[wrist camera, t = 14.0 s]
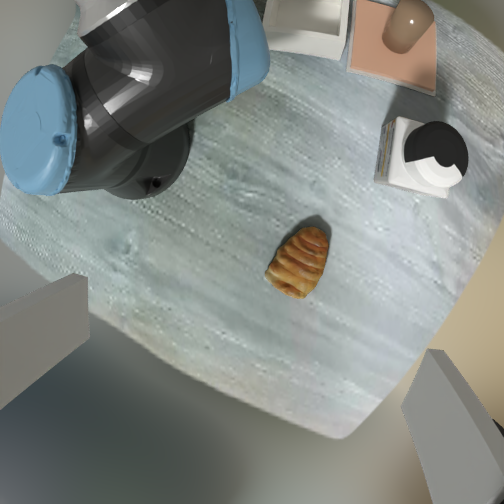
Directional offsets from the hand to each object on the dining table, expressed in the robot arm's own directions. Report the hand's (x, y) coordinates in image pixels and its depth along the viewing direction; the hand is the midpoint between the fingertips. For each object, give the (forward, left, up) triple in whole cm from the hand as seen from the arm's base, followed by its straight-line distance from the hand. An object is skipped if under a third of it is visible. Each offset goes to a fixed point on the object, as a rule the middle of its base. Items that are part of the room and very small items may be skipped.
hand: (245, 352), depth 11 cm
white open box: (-2, +29, -32) cm, 43 cm away
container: (+14, +12, -32) cm, 37 cm away
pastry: (+2, -4, -32) cm, 33 cm away
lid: (+11, +29, -31) cm, 44 cm away
